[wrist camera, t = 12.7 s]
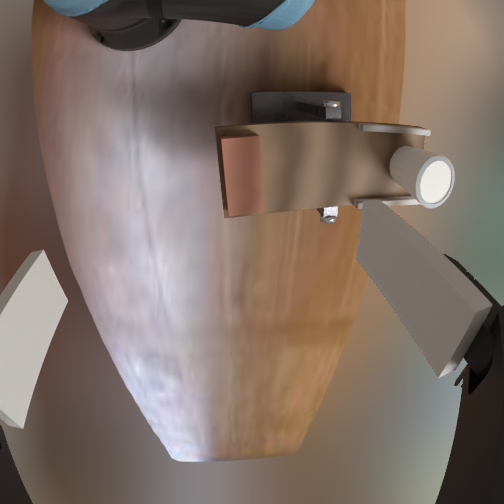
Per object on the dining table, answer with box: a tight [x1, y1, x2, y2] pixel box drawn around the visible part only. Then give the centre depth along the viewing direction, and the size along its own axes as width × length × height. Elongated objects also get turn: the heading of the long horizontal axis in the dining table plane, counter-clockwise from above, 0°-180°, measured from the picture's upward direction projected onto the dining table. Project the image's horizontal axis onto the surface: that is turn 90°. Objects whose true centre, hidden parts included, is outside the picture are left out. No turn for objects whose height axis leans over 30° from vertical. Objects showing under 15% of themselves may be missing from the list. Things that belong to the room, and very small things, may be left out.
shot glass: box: [389, 146, 455, 208], centre depth 32 cm, size 7×7×7 cm
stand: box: [250, 91, 351, 223], centre depth 40 cm, size 16×18×13 cm
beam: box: [215, 121, 430, 218], centre depth 34 cm, size 28×11×4 cm, turn 93°
